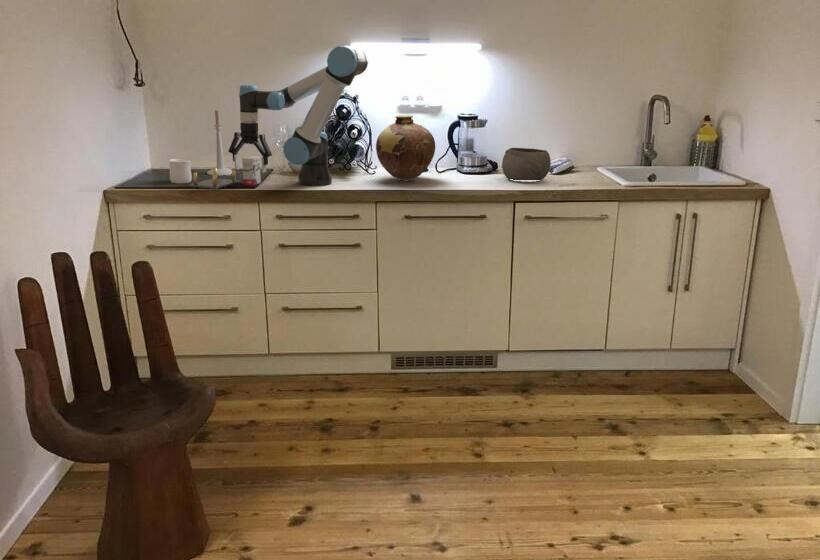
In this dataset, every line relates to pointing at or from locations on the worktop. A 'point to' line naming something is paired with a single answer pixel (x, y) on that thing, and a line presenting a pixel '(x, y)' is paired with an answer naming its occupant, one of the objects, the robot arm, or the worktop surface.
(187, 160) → the cup
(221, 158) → the candlestick
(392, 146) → the vase
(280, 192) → the worktop surface
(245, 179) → the ink box
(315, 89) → the robot arm
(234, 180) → the chassis
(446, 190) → the worktop surface
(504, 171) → the bowl
